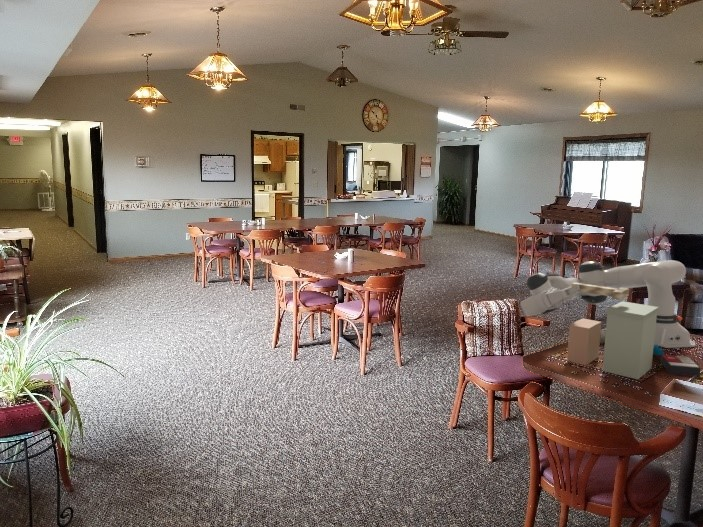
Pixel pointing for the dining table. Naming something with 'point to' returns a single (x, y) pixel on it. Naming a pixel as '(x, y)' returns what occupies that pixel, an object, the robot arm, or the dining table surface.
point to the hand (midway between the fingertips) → (581, 286)
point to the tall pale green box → (629, 339)
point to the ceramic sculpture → (602, 336)
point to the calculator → (680, 365)
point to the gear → (657, 350)
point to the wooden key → (603, 290)
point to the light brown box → (584, 341)
